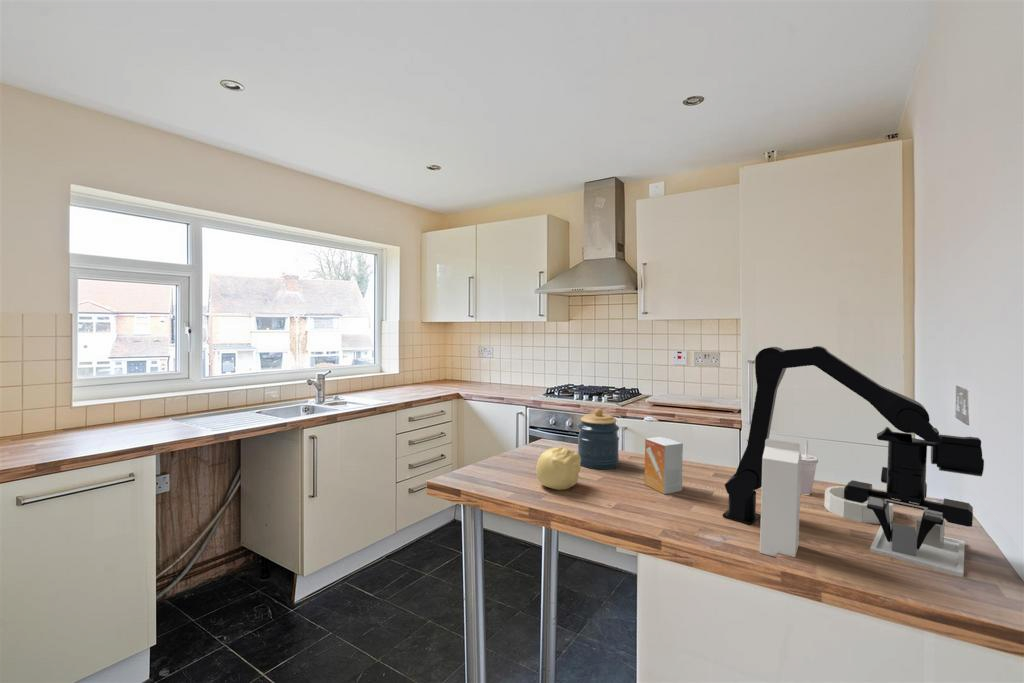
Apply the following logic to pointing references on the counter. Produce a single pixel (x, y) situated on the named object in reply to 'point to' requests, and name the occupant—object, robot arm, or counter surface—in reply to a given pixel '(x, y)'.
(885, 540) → the tray
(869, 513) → the bowl
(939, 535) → the grey block
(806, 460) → the smoothie
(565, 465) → the dough ball
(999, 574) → the counter surface
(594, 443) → the canister
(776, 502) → the milk
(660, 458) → the small box
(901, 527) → the grey block
